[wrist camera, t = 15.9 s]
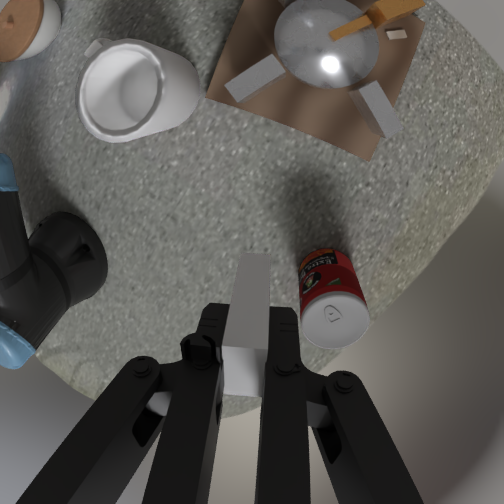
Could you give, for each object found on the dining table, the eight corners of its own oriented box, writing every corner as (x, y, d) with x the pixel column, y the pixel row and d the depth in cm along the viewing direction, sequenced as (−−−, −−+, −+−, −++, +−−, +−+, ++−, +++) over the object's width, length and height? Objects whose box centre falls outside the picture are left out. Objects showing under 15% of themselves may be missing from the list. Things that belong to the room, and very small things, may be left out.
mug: (96, 81, 32) (44, 82, 22) (147, 23, 28) (103, 3, 18) (160, 147, 36) (119, 164, 26) (218, 89, 32) (192, 84, 22)
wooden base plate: (208, 97, 32) (199, 97, 29) (266, -40, 23) (264, -53, 20) (366, 159, 34) (375, 166, 30) (420, 25, 25) (434, 18, 21)
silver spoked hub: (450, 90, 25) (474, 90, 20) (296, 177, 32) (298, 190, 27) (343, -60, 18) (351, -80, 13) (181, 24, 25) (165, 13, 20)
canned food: (327, 235, 39) (340, 281, 29) (364, 272, 41) (383, 323, 31) (285, 271, 42) (285, 324, 32) (323, 304, 44) (331, 359, 34)
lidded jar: (16, 41, 28) (-25, 41, 19) (54, -12, 24) (15, -22, 16) (42, 74, 31) (-2, 77, 23) (85, 17, 27) (42, 6, 19)
